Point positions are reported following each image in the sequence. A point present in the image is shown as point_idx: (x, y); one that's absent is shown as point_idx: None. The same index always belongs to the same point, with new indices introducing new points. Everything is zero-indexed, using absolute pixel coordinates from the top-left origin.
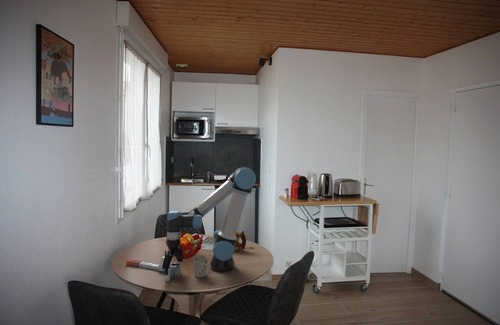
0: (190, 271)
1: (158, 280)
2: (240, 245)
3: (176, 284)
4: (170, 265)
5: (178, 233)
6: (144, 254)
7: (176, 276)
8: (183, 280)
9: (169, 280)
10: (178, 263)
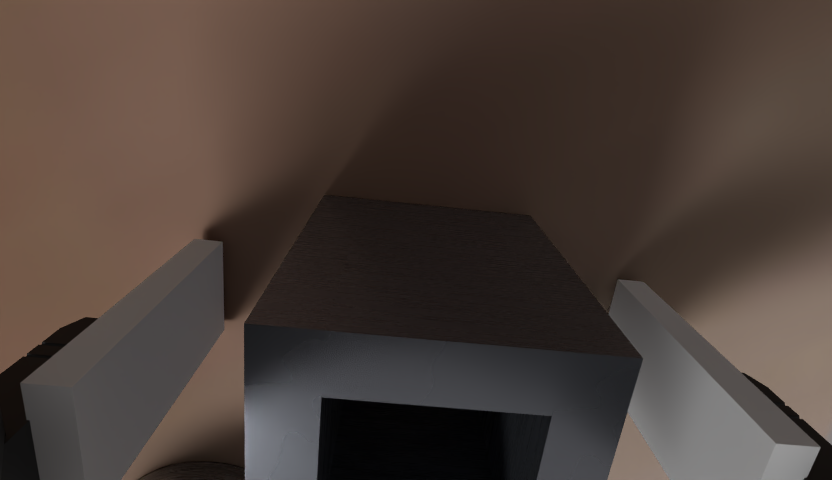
0: (7, 72)
1: (626, 448)
2: None
3: (771, 67)
4: None
5: None
6: None
7: (473, 220)
8: (543, 6)
9: (624, 281)
10: (246, 395)
